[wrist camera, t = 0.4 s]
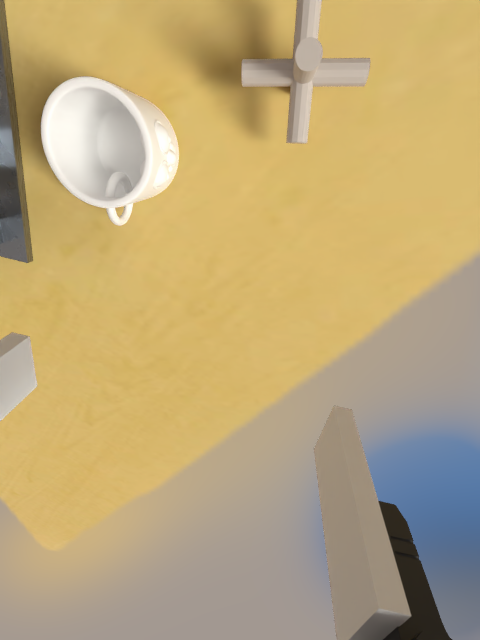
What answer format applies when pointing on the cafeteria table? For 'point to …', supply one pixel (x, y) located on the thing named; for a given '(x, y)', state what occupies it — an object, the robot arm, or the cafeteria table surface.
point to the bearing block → (11, 163)
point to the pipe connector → (304, 70)
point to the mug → (108, 144)
